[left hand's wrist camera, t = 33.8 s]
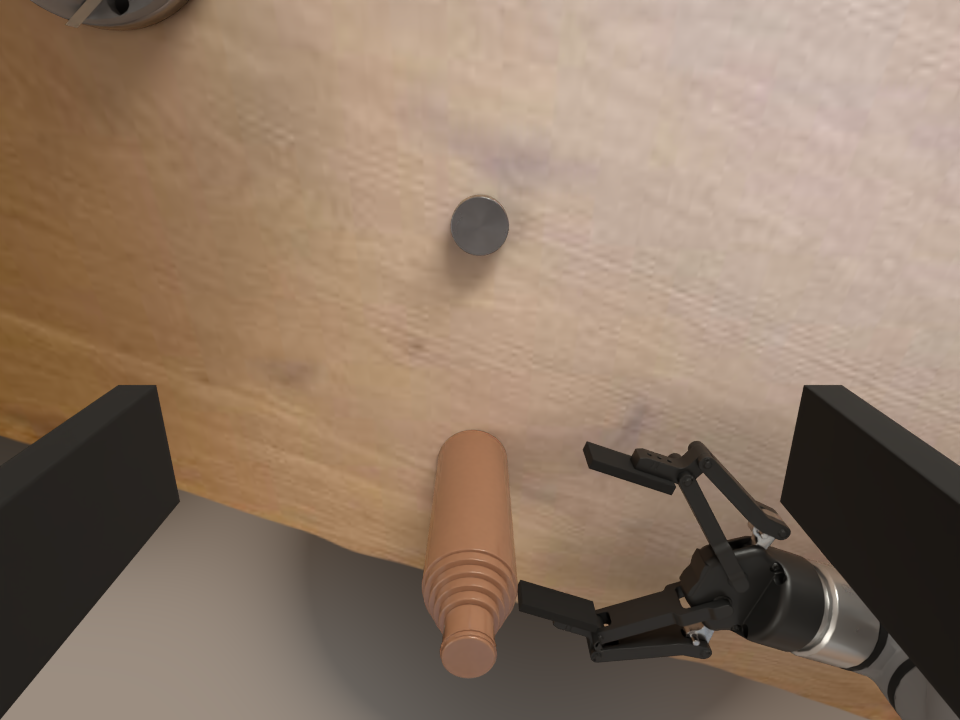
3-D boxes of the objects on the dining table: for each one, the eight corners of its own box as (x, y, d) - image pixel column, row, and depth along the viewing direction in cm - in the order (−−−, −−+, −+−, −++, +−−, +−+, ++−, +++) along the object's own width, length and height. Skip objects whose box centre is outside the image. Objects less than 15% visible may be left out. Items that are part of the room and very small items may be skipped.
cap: (510, 197, 44) (511, 199, 42) (505, 253, 45) (506, 257, 44) (453, 192, 44) (452, 194, 42) (450, 249, 45) (449, 253, 43)
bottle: (515, 479, 52) (537, 684, 32) (451, 498, 53) (435, 710, 33) (494, 421, 50) (504, 602, 30) (428, 441, 51) (396, 631, 31)
